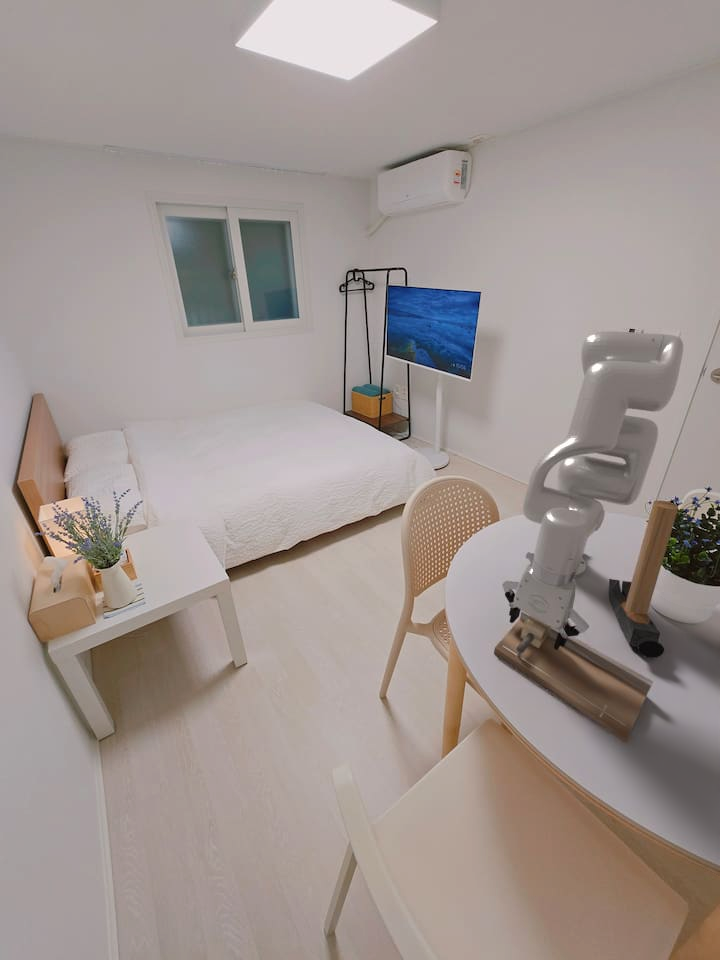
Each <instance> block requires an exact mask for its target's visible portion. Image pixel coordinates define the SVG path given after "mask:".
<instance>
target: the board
mask: <svg viewBox="0 0 720 960" xmlns="http://www.w3.org/2000/svg"><path fill="white" fill-rule="evenodd" d="M529 616H530V615H529V614H527V613H526V612H524V611H522V610H521V611H520V615H519V618H518V620H517V622H515V624H514V625H513V626H512V628H511V629H510V630H509V631H507V633H506V634H505V635H504V637H503V638H501V640H499V642H498V643H497V644H496V646H495V647H494V650H493V654H494V655H496V656H497V657H499V658H500V659H501V660H503V661H504V662H506V663H508V665H510V666H512V667H513V668H514V669H516V670H518V671H520V672H521V673H523V674H524V675H526V676H527V677H529V679H532V680H533V681H534V682H535V683H537V684H539V685H540V686H541V687H543V688H545V689H546V690H548V691H549V692H551V693H552V694H554V695H555V696H556V697H558V698H560V700H563V701H564V702H566V703H567V704H568V705H570V706H572V707H573V708H574V709H576V710H578V711H579V712H580V713H582V714H584V715H585V716H586V717H587V718H589V719H591V720H592V721H594V722H595V723H597V724H598V725H600V726H601V727H602V728H604V729H606V730H607V731H608V732H610V733H612V734H613V735H614V736H616V737H617V738H619V739H620V740H622V741H624V742H625V743H626V742H627V740H628V739H629V736H630V735H631V732H632V731H633V727H634V725H635V723H636V720H637V719H638V716H639V714H640V711H641V710H642V707H643V705H644V702H645V701H646V698H647V696H648V693H649V691H650V689H651V687H652V685H653V684H654V681H653V680H652V679H650V678H648V677H646V676H644V675H642V674H641V673H639V672H637V671H635V670H634V669H632V668H630V667H628V666H626V665H625V664H623V663H622V662H619V661H618V660H616V659H614V658H613V657H610V656H609V655H607V654H606V653H603V652H602V651H600V650H598V649H597V648H595V647H593V646H592V645H589V644H588V643H586V642H584V641H583V640H581V639H579V638H578V637H577V638H576V636H569V637H568V638H567V641H566V644H565V645H564V647H562V646H561V645H560V647H559V648H558V650H555V649H554V645H555V641H556V638H557V635H558V634H559V630H558V629H555V628H553V627H550V631H549V634H548V637H547V638H546V639H545V641H544V642H543V643H542V645H541V646H540V647H539V649H538V648H537V647H535V646H534V645H532V644H529V646H528V647H527V648H526V649H525V651H524V652H523V653H521V656H520V657H518V656H517V655H518V651H517V647H518V645H519V644H520V643H521V642H522V640H523V639H522V638H521V633H522V629H523V625H524V622H525V621H526V620H527V618H528V617H529Z"/></svg>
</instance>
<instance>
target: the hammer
mask: <svg viewBox="0 0 720 960" xmlns="http://www.w3.org/2000/svg"><path fill="white" fill-rule="evenodd" d="M678 510H679V506H678V505H677V504H676V503H673V502H669V501H665V500H654V501H653V503H652V507H651V509H650V514H649V517H648V521H647V525H646V528H645V533H644V536H643V540H642V544H641V547H640V550H639V554H638V559H637V561H636V565H635V568H634V573H633V576H632V580H631V581H627V580H622V585H621V584H620V583H621V582H620V581H621V580H619V579H612V578H608V595H609V596H608V598H609V602H610V605H611V607H612V609H613V612H614V615H615V617H616V620H617V622H618V625H619V628H620V630H621V632H622V634H623V636H624V638H625V640H626V641H627V643H628V646H632V647H637V651H638V653H639V654H640V655H641V656H642V657H644V658H645V657H646V658H650V659H656V658H657V659H658V658H659V657H661V656H662V655H663V654H664V653H665V647H664V646H663V645H662V643H660V642H659V640H660V639H659V638H660V636H661V632H660V630H659V629H658V627H657V626H656V625H655V623H654V622H653V621H652V619H651V618H650V616H649V614H648V612H649V609H650V606H651V602H652V598H653V594H654V591H655V588H656V585H657V582H658V578H659V575H660V572H661V568H662V564H663V561H664V558H665V556H666V555H665V554H666V551H667V547H668V544H669V540H670V537H671V534H672V530H673V528H674V523H675V522H676V518H677V513H678Z"/></svg>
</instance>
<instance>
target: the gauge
mask: <svg viewBox="0 0 720 960" xmlns="http://www.w3.org/2000/svg"><path fill="white" fill-rule="evenodd" d="M549 631H550V626H549V625H547V624H545V623H543V622H541V621H540V620H538V619H536V618H534V617H533V616H531V615H530V616H529V617H528V618H527V620H526V621H525V622H524V625H523V629H522V633H521V638H522V639H523V640H522V642H521V643H520V644H519V645H518V647H517V651H518V655H517V656H518V657H520V656H521V653H523V652H524V651H525V649H526V648H527V647H528V646H529V644H532V645H534V646H535V647H537V648H538V649H539V647H540V646H541V645H542V643H543V642H544V641H545V639H546V638H547V637H548V634H549Z"/></svg>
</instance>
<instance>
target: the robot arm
mask: <svg viewBox="0 0 720 960" xmlns="http://www.w3.org/2000/svg"><path fill="white" fill-rule="evenodd" d="M683 353H684V343H683V341H682V339H681V338H680V337H679V336H676V335H672V334H665V333H664V334H663V333H662V334H661V333H644V332H634V331H633V332H632V331H630V332H629V331H615V330H614V331H612V330H611V331H609V330H608V331H606V330H605V331H597V332H593V333H591V334H589V335H588V336H586V338H585V339H584V341H583V343H582V348H581V357H580V358H581V366H582V367H581V368H582V371H583V375H584V377H583V380H582V384H581V388H580V390H579V391H580V392H579V394H578V398H577V401H576V404H575V409H574V412H573V415H572V419H571V422H570V425H569V428H568V432H567V435H566V437H565V438H564V439H563V440H562V441H561V442H559V443H558V444H556V445H554V446H553V447H551V448H550V449H549V450H548V451H547V452H545V453H544V454H543V455H542V456H541V457H540V459H539V460H538V461H537V462H536V465H535V466H534V468H533V470H532V472H531V475H530V476H529V477H530V478H529V481H528V485H527V487H526V491H525V494H524V498H523V503H522V512H523V515H524V517H525V518H526V519H528V520H529V521H531V522H534V523H536V524H540V528H539V532H538V536H537V539H536V545H535V549H534V552H532V553H531V552H529V551H527V553H526V554H525V558H526V560H529V562H530V563H529V564H527V565H526V567H525V568H524V571H523V573H522V574H521V576H520V580H519V581H513V580H505V581H504V582H503V583H502V588H503V589H502V590H503V592H504V596H505V598H506V600H507V601H508V607H510V609H509V611H508V612H509V613H508V616H510V618H509V623H511V624H514V623H516V622H515V621H516V620H517V619H519V618H520V616H521V612H522V611H524V612H526V613H527V614H529V615H531V616H533V617H534V618H536V619H538V620H540V621H541V622H543V623H545V624H547V625H549V626H550V627H553V628H555V629H558V630H559V634H558V635H557V638H556V641H555V645H554V649H555V650H558V648H559V647H560V645H561V646H562V647H564V645H565V644H566V641H567V638H568V637H569V636H573V637H577V636H579V635H580V634H583V633H585V632H586V631H588V629H589V628H590V625H589V623H588V622H587V621H586V620H585V619H584V618H583V616H581V615H580V614H579V613H578V612H577V611H576V610H575V609H574V604H575V599H576V588H577V586H576V585H577V584H576V579H575V578H577V577H579V576H581V575H583V574H584V573H585V571H586V568H587V564H586V561H585V559H584V558H583V554H584V552H585V550H586V549H585V548H586V546H587V542H588V539H589V537H591V536H592V535H593V534H594V533H595V532H596V531H599V529H600V528H601V527H602V524H603V522H604V520H605V514H606V512H605V510H604V509H605V508H604V505H603V504H602V503H601V502H600V501H602V502H606V503H610V504H616V505H619V506H631V505H633V504H634V503H635V502H636V501H637V500H638V498H639V495H640V494H641V490H642V488H643V485H644V482H645V479H646V477H647V476H646V475H647V473H648V471H649V467H650V464H651V461H652V459H653V458H652V457H653V456H654V452H655V448H656V445H657V442H658V437H659V436H658V435H659V429H658V425H657V423H656V422H655V421H653V420H652V419H649V418H646V417H645V418H644V417H639V416H633V415H627V414H626V413H627V410H628V409H629V410H631V409H632V410H639V411H646V412H654V413H655V412H659V411H662V410H663V409H664V408H666V407H667V406H668V404H669V403H670V401H671V399H672V398H673V395H674V392H675V389H676V386H677V383H678V379H679V374H680V369H681V363H682V359H683ZM588 454H598V455H602V456H609V457H614V458H619V459H622V460H624V462H625V463H621V462H616V461H611V460H607V459H602V458H598V457H591V456H588ZM559 462H560V465H559V467H558V471H557V472H558V473H557V484H556V488H552V487H549V486H548V487H547V486H545V482H546V478H547V477H548V474H549V473H550V472H551V470H552V468H554V467H555V466H556V464H558V463H559ZM514 590H515V592H514ZM569 619H570V620H571V621H572V622H573V623H574V624H575V625H571V622H570V620H569Z"/></svg>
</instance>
